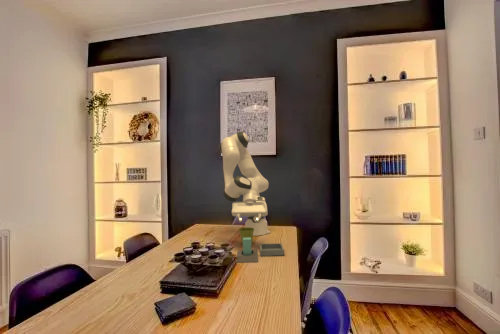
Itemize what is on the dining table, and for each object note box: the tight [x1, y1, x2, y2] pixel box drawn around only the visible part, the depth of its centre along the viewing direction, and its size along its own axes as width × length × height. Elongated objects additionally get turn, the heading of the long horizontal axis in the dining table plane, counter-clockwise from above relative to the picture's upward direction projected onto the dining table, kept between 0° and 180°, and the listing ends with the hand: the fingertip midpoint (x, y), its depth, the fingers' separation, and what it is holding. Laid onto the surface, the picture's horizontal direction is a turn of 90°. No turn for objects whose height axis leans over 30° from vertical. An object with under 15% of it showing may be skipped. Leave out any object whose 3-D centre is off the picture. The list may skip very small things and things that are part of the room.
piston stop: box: [242, 237, 253, 255], centre depth 127 cm, size 4×4×10 cm
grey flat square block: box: [236, 248, 259, 264], centre depth 126 cm, size 10×10×3 cm
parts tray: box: [259, 242, 285, 257], centre depth 135 cm, size 12×12×3 cm
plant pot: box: [238, 227, 254, 245], centre depth 154 cm, size 9×9×9 cm
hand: (248, 221), depth 139 cm, fingers open, 8 cm apart
